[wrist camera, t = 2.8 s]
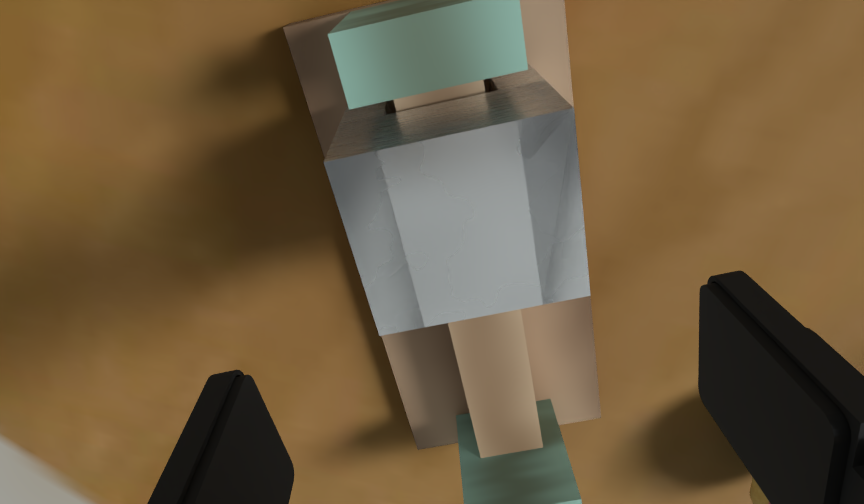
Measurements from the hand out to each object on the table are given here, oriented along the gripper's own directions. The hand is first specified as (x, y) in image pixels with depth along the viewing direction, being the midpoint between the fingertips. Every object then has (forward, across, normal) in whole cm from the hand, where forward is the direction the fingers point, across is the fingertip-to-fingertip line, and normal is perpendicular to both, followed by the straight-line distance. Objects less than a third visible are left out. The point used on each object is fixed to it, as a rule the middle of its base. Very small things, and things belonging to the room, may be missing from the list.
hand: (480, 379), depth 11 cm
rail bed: (+14, 0, +4) cm, 15 cm away
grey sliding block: (+12, 0, -1) cm, 12 cm away
